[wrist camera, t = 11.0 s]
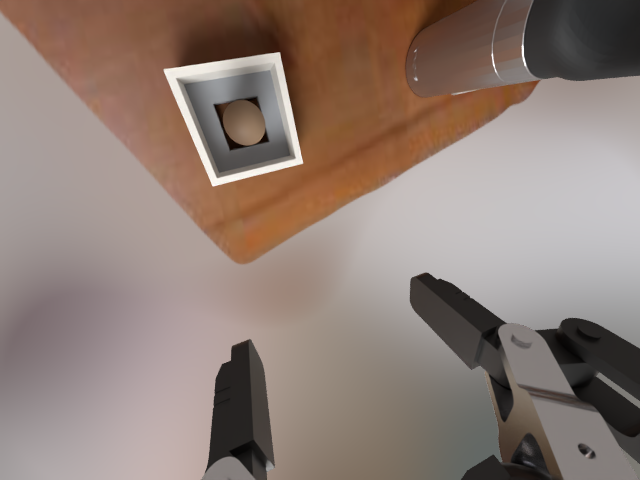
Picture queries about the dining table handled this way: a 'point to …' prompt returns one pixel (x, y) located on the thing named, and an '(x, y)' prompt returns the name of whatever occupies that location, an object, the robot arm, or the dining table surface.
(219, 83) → the open box
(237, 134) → the peg
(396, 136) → the dining table surface
